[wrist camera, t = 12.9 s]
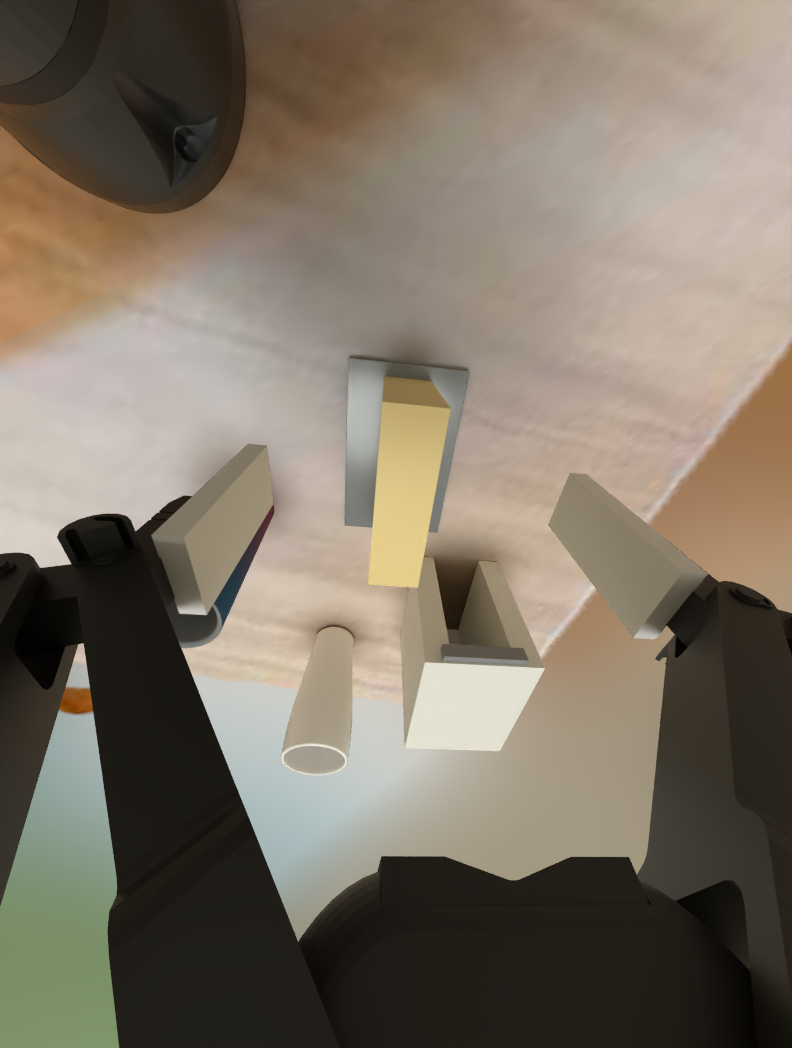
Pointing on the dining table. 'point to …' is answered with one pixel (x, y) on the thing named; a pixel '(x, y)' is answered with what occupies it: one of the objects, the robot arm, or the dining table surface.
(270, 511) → the cup
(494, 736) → the box
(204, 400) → the dining table surface
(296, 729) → the drinking glass
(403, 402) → the yellow rectangular block
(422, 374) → the slate pad
